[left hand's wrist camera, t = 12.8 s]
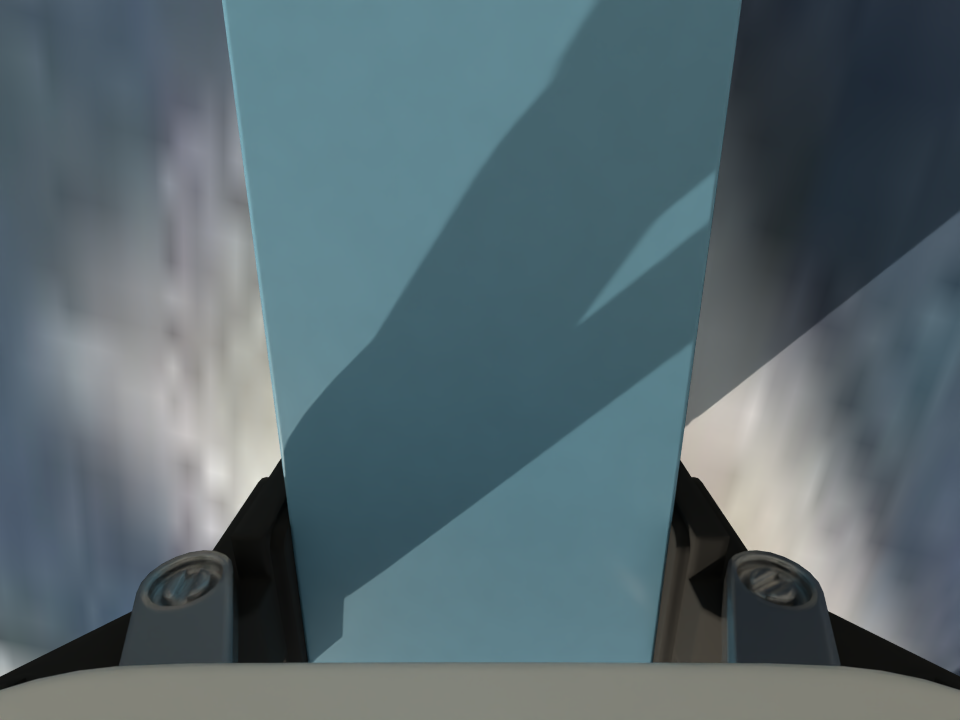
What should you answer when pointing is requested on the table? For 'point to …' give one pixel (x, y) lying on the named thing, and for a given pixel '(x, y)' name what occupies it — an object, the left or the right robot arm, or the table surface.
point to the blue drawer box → (481, 308)
